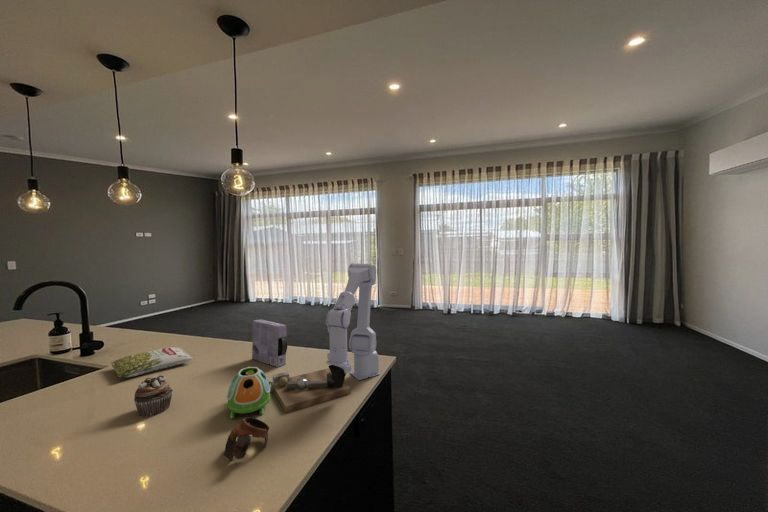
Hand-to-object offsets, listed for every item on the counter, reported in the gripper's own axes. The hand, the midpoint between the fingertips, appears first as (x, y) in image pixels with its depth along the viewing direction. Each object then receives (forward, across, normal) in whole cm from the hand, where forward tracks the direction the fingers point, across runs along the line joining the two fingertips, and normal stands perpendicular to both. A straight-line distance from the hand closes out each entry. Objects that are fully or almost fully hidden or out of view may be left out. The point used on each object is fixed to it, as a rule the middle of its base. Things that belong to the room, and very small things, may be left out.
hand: (338, 387), depth 99 cm
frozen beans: (+5, -71, -55) cm, 90 cm away
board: (+4, -12, -6) cm, 14 cm away
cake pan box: (+5, -48, -12) cm, 50 cm away
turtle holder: (+4, -12, -26) cm, 29 cm away
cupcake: (+5, -27, -51) cm, 58 cm away
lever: (+2, -10, -6) cm, 11 cm away
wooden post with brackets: (+5, -18, -21) cm, 28 cm away
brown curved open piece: (+5, +10, -30) cm, 32 cm away
